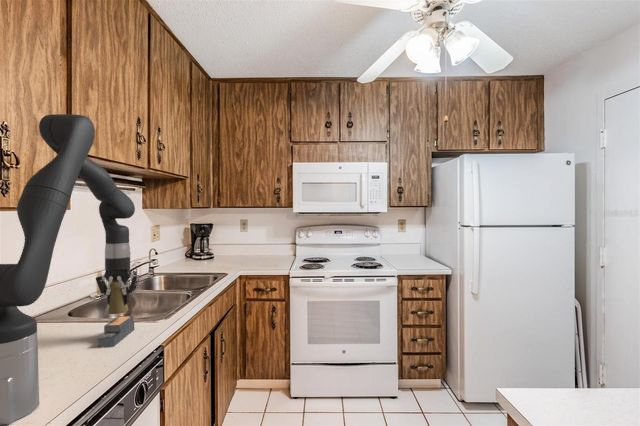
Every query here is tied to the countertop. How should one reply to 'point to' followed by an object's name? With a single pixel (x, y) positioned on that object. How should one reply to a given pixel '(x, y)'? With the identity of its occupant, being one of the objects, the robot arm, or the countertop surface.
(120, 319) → the orange button
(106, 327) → the grey slotted housing
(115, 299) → the cork
